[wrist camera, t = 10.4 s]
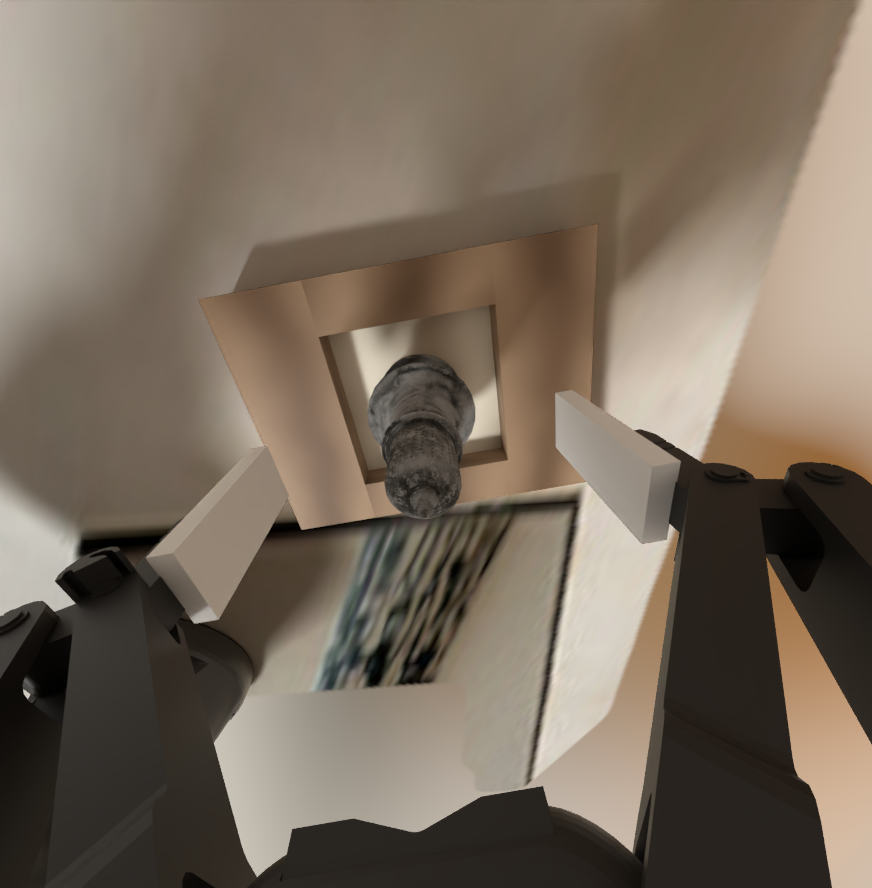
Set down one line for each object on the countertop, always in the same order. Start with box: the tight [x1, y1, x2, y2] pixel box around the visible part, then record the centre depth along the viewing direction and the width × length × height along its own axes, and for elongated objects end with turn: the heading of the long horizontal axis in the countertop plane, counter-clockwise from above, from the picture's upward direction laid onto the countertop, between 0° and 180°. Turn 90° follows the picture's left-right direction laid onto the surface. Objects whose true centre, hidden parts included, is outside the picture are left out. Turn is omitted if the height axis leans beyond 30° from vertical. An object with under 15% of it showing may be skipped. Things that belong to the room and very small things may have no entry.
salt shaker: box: [367, 354, 475, 519], centre depth 16 cm, size 6×6×12 cm
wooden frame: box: [199, 224, 598, 530], centre depth 21 cm, size 20×15×3 cm
